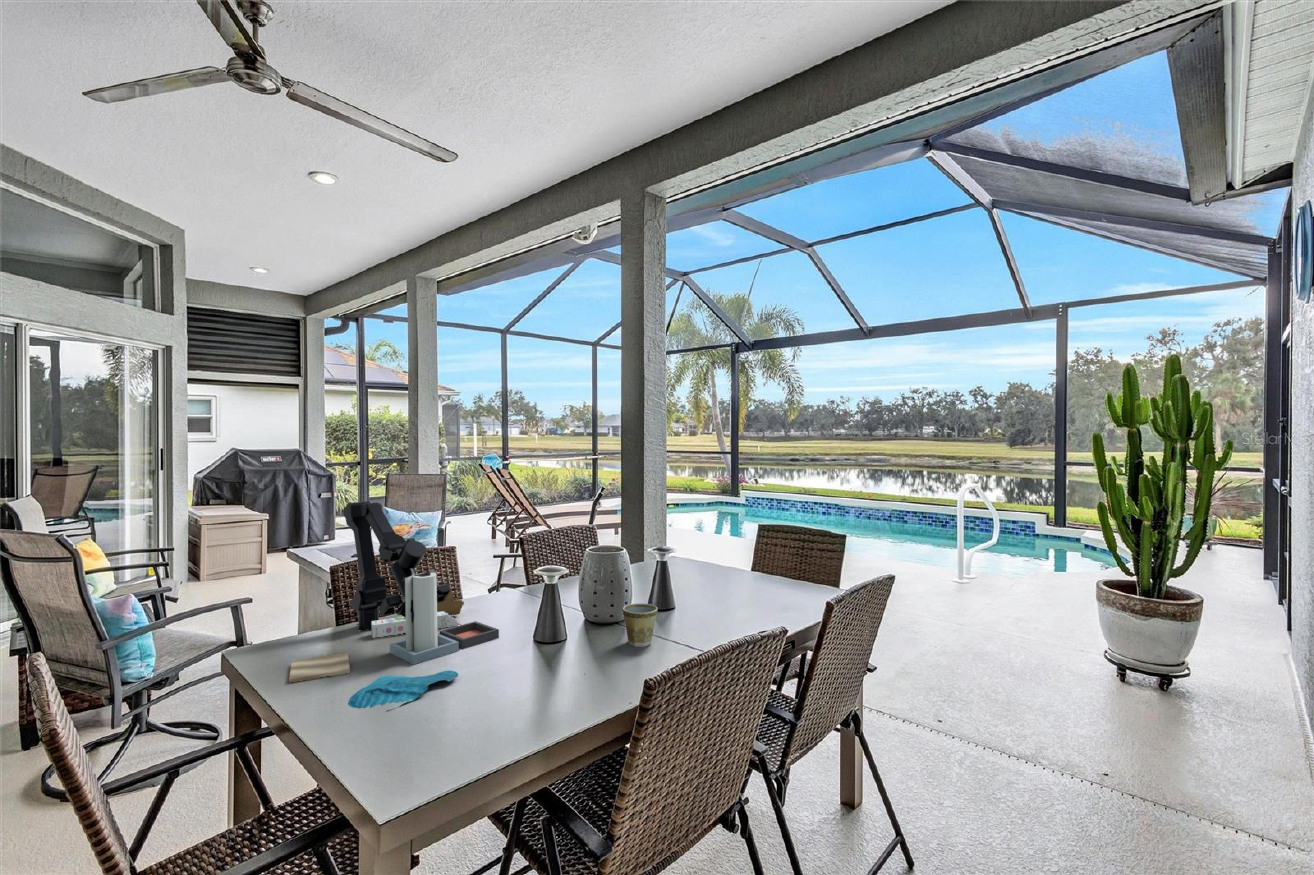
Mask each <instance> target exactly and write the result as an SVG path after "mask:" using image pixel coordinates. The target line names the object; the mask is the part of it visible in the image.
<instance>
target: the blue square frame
mask: <svg viewBox="0 0 1314 875" xmlns="http://www.w3.org/2000/svg"><path fill="white" fill-rule="evenodd" d="M437 637H438V647H435V648H431V649H428V650H424V651H421V652H418V653H414V652H412V651H410V650H408V649H406V639H404V640H399V641H396V642H392V643H389V654H391V653H392V655H393V656H395V657H397V658H399V657H400V658H399V659H401V658H402V659H401V660H403V661H405V662H407V663H409V662H410V663H409V664H411V663H412V665H418V664H421V663H424V662H427V661H431V660H434V659H438V658H441V657H443V656H446V655H447V656H448V655H450V654H453V653H456V652H459V649H460V648H459V642H458V641H455V640H453V639H450V638H448V637H445V636H443V635H440V633H439V632H437Z"/></svg>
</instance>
